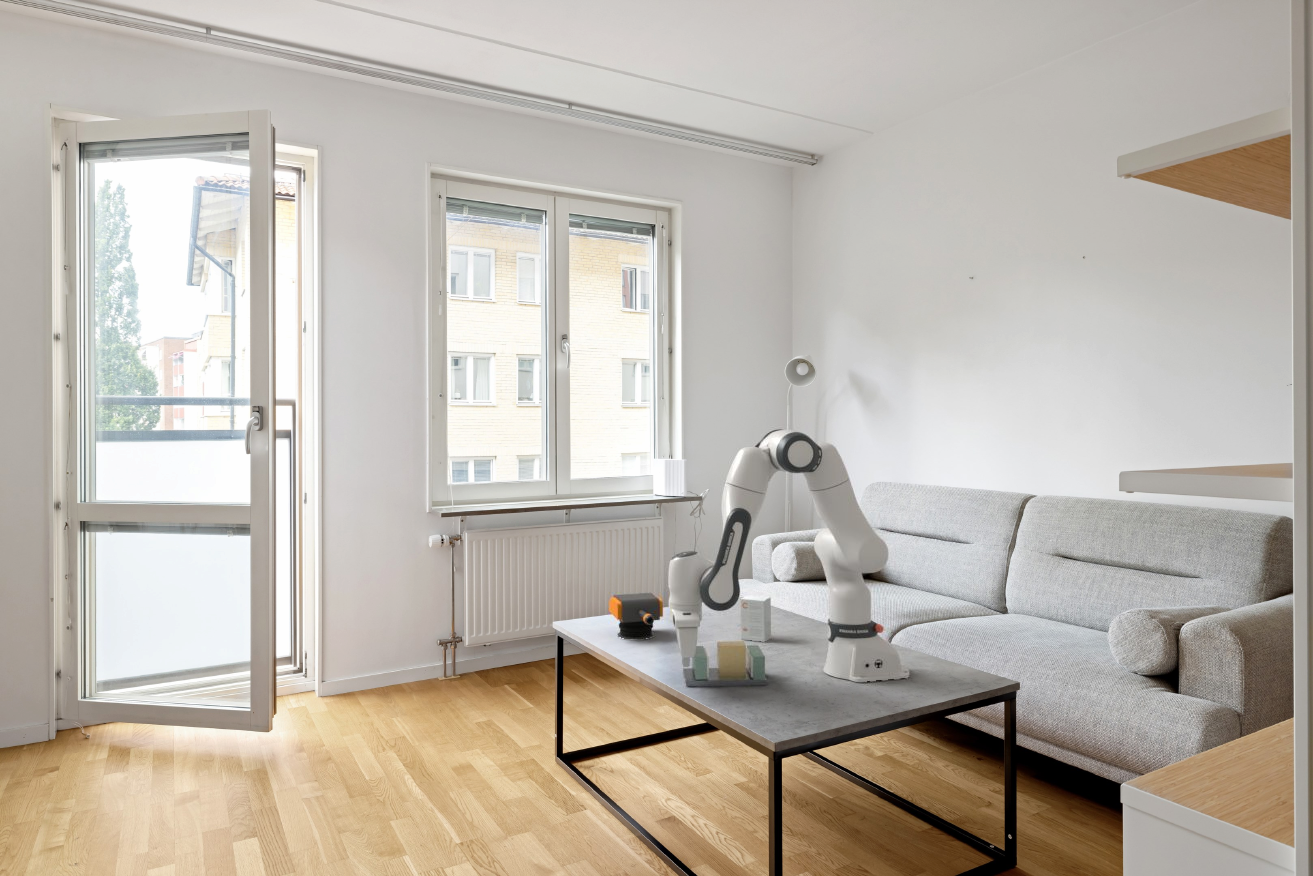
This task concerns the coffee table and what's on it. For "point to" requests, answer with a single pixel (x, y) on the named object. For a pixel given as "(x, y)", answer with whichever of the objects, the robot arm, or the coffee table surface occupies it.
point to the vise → (753, 676)
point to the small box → (755, 618)
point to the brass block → (731, 658)
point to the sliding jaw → (700, 663)
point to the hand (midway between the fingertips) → (685, 665)
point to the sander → (636, 614)
